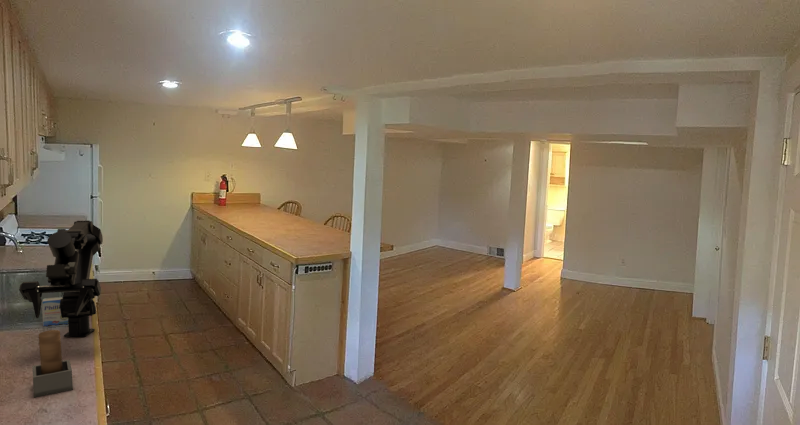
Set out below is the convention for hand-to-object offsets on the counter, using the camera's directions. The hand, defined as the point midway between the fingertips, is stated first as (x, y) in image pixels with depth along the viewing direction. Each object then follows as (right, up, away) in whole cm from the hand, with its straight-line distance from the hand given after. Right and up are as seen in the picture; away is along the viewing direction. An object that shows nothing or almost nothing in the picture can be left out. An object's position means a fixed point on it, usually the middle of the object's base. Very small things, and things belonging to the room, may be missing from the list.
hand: (56, 316), depth 143 cm
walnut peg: (+7, -14, -12) cm, 20 cm away
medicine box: (-21, -9, +33) cm, 41 cm away
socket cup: (+7, -15, -12) cm, 21 cm away
